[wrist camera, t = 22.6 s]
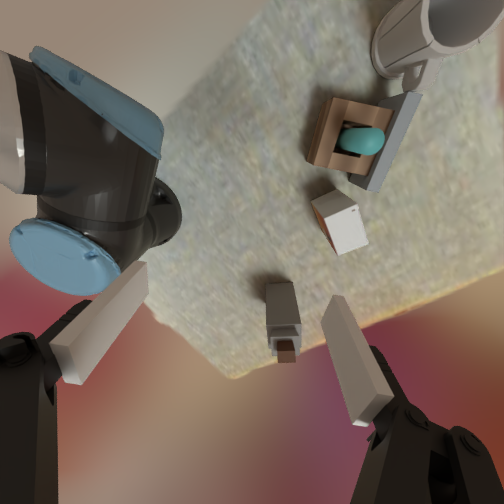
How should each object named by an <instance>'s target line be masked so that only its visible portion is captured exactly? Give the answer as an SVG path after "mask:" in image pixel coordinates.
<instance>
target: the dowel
mask: <svg viewBox="0 0 504 504" xmlns="http://www.w3.org/2000/svg"><path fill="white" fill-rule="evenodd" d="M384 140H385V136H384V133H383V131H382V130H381V129H379V128H342V129H340V132H339V135H338V138H337V141H336V144H335V147H336V148H339V149H343V150H347V151H351V152H355V153H359V154H363V155H373V154H375V153H377V152H378V151H379V150H380V149H381V148H382V146H383V144H384Z"/></svg>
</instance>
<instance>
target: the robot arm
mask: <svg viewBox="0 0 504 504" xmlns="http://www.w3.org/2000/svg"><path fill="white" fill-rule="evenodd" d="M29 57H30V59H31V60H32V62H28V61H25V60H23V59H20V58H18V57H16V56H13V55H11V54H8V53H6V52H3V51H0V183H1V184H3V185H4V186H6V187H7V188H9V189H10V190H11V191H13V192H15V193H16V194H29V195H30V194H31V195H37V215H36V217H35V218H31V219H26V220H23V221H22V222H21V223H20V224H19V225H18V226H16V227H15V228H13V230H12V231H11V233H10V237H9V243H10V247H11V250H12V252H13V254H14V256H15V258H16V259H17V260H18V262H19V263H20V264H21V265H22V266H23V267H24V268H25V269H26V270H27V271H28V272H29V273H30V274H32V275H33V276H34V277H35V278H37V279H38V280H39V281H41V282H42V283H44V284H46V285H48V286H50V287H52V288H54V289H56V290H59V291H62V292H65V293H68V294H73V295H81V296H87V295H92V294H98V293H100V292H102V291H103V292H102V293H101V294H100V295H99V296H98V297H97V298H96V299H94V300H93V301H91V300H83V301H82V302H80V303H78V304H76V305H74V306H73V307H72V308H71V309H70V310H68V311H67V312H66V314H64V315H63V316H62V317H61V318H60V319H59V320H57V321H56V322H55V323H54V324H53V325H52V326H51V327H49V328H48V329H47V330H46V331H45V332H44V333H43V334H42V335H40V336H39V337H38V338H37V339H35V336H34V335H33V334H31V333H29V332H19V333H14V334H11V335H8V336H6V337H3V338H2V339H0V504H58V446H57V387H56V384H55V383H56V382H57V381H58V379H59V378H60V377H61V376H63V379H64V381H65V382H66V383H73V384H79V385H82V384H83V383H84V381H85V380H86V378H87V377H88V376H89V374H90V373H91V372H92V370H93V369H94V368H95V366H96V365H97V363H98V362H99V361H100V359H101V358H102V357H103V355H104V354H105V352H106V351H107V350H108V348H109V347H110V346H111V344H112V343H113V341H114V340H115V339H116V338H117V336H118V335H119V333H120V332H121V331H122V329H123V328H124V327H125V325H126V324H127V322H128V321H129V320H130V318H131V317H132V316H133V314H134V313H135V312H136V310H137V309H138V307H139V306H140V305H141V303H142V302H143V301H144V299H145V298H146V297H147V295H148V294H149V291H148V276H147V262H142V261H137V260H138V259H139V258H140V257H141V256H142V255H143V254H144V253H145V252H146V251H147V250H148V249H149V248H152V247H156V246H159V245H162V244H164V243H166V242H168V241H169V240H170V239H171V238H172V237H173V236H174V235H175V234H176V233H177V231H178V230H179V228H180V225H181V221H182V212H181V207H180V204H179V202H178V199H177V198H176V196H175V194H174V193H173V192H172V191H171V189H170V188H169V187H168V186H167V185H166V184H164V183H163V182H162V181H160V180H158V179H157V178H155V176H156V171H157V167H158V163H159V160H161V155H160V152H161V146H162V141H163V135H164V128H163V124H162V122H161V120H160V119H159V117H158V116H156V114H155V113H153V112H152V111H151V110H149V109H148V108H146V107H145V106H143V105H142V104H140V103H138V102H137V101H135V100H133V99H132V98H130V97H129V96H127V95H125V94H123V93H122V92H120V91H119V90H117V89H115V88H113V87H112V86H110V85H109V84H107V83H105V82H104V81H102V80H100V79H98V78H97V77H95V76H93V75H91V74H90V73H88V72H86V71H84V70H83V69H81V68H79V67H78V66H76V65H74V64H72V63H71V62H69V61H67V60H65V59H63V58H61V57H59V56H57V55H55V54H53V53H52V52H50V51H48V50H47V49H44V48H42V47H39V46H35V47H34V48H33V51H32V52H31V53H30V54H29ZM321 326H322V329H323V332H324V335H325V338H326V342H327V345H328V348H329V351H330V355H331V358H332V360H333V364H334V367H335V370H336V374H337V377H338V380H339V383H340V387H341V390H342V393H343V396H344V400H345V403H346V406H347V409H348V412H349V416H350V419H351V422H352V424H353V425H359V426H366V427H367V426H368V425H369V424H370V423H371V422H372V421H373V423H374V425H375V428H376V430H375V431H374V432H373V433H372V434H371V435H370V436H369V437H368V438H367V441H368V442H369V441H370V440H371V441H370V444H369V447H368V450H367V453H366V457H365V460H364V463H363V465H362V468H361V472H360V475H359V478H358V481H357V484H356V487H355V490H354V493H353V496H352V499H351V502H350V504H504V490H503V487H502V484H501V482H500V479H499V477H498V474H497V471H496V469H495V466H494V463H493V461H492V458H491V456H490V454H489V452H488V450H487V448H486V447H485V446H484V444H482V442H481V441H480V440H479V439H478V438H477V437H476V436H475V435H474V434H473V433H471V432H470V431H468V430H467V429H465V428H463V427H460V426H454V427H452V428H451V429H450V430H448V429H446V428H444V427H441V426H439V425H437V424H435V423H433V422H431V421H429V420H428V418H427V417H426V416H425V414H424V413H423V412H422V411H421V410H420V409H419V408H417V407H416V406H414V405H412V404H411V403H410V402H409V401H408V399H407V397H406V396H405V394H404V392H403V390H402V388H401V386H400V385H399V383H398V381H397V379H396V377H395V376H394V374H393V373H392V370H391V369H390V367H389V366H388V363H387V361H386V359H385V357H384V356H383V354H382V353H381V352H380V351H379V350H378V349H377V348H376V347H375V346H370V345H368V343H367V341H366V339H365V337H364V336H363V334H362V332H361V330H360V328H359V326H358V324H357V322H356V320H355V318H354V316H353V314H352V312H351V310H350V308H349V306H348V304H347V302H346V300H345V298H344V296H338V295H333V296H332V298H331V301H330V303H329V305H328V307H327V309H326V311H325V314H324V316H323V318H322V320H321Z"/></svg>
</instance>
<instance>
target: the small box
mask: <svg viewBox="0 0 504 504" xmlns="http://www.w3.org/2000/svg"><path fill="white" fill-rule="evenodd" d="M311 204H312V206H313V208H314V211H315V213H316V216H317V219H318V221H319V224H320V226H321V229H322V232H323V233H324V235H325V236H326V238H327V240H328V241H329V243H330V244H331V246H332V248H333V249H334V251H335V253H336V254H337V256H338V255H341V254H344V253H346V252H349V251H352V250H354V249H357V248H360V247H362V246H365V245H368V244H369V241H368V238H367V235H366V232H365V229H364V225H363V222H362V218H361V215H360V211H359V206H358V203H356V202H355V201H353V200H352V199H351V198H349V197H348V196H346V195H345V194H343V193H342V192H341V191H339V190H338V189H336V190H334V191H331V192H329V193H327V194H325V195H323V196H321V197H318V198H316V199H314V200H312V201H311Z"/></svg>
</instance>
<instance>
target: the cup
mask: <svg viewBox="0 0 504 504" xmlns="http://www.w3.org/2000/svg"><path fill="white" fill-rule="evenodd" d="M503 17H504V0H402V1H400V2H399V3H397V4H396V5H395V6H394V7H393V8H392V9H391V10H390V11H389V12H388V13H387V14H386V15H385V17H384V18H383V19H382V21H381V22H380V24H379V26H378V28H377V29H376V32H375V35H374V38H373V42H372V51H371V57H372V61H373V66H374V67H375V69H376V71H377V72H378V74H380V75H381V76H383V77H384V78H387V79H392V80H395V79H400V78H403V81H402V88H403V92H408V91H409V92H416V91H422V90H427V89H429V88H430V87H431V85H432V84H433V83H434V82H435V79H436V77H437V74H438V71H439V69H440V66H441V64H442V61H443V59H444V58H447V57H450V56H453V55H456V54H460V53H463V52H465V51H467V50H469V49H471V48H472V47H474V46H476V45H478V43H480V42H481V41H483V40H484V39H485V38H486V37H487V36H488V35H489V34H490V33H491V32H493V30H494V29H495V28H496V26H497V25H498V24H499V22H500V21H501V20H502V19H503ZM421 66H422V68H421V71H420V74H419V76H418V73H419V69H420V67H421Z"/></svg>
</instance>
